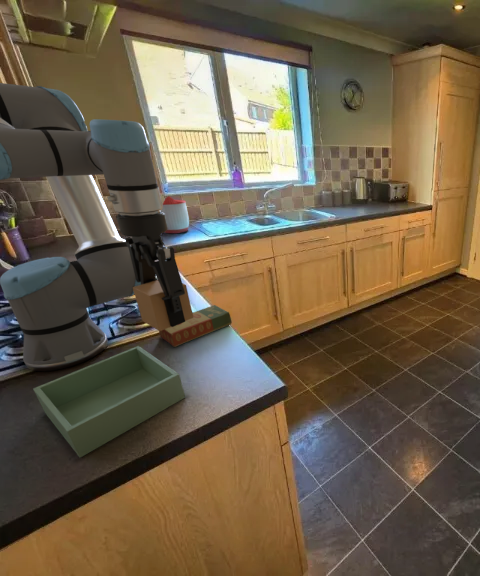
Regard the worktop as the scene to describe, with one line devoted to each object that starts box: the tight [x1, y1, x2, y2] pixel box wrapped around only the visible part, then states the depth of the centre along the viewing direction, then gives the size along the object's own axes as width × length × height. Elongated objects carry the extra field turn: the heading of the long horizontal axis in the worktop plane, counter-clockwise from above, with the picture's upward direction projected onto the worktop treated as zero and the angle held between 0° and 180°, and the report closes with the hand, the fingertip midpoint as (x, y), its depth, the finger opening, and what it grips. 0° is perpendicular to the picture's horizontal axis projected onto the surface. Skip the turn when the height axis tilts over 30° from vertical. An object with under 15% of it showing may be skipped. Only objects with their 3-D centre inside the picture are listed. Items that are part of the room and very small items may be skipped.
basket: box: [32, 345, 186, 458], centre depth 65 cm, size 18×18×6 cm
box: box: [133, 280, 193, 331], centre depth 69 cm, size 7×7×8 cm
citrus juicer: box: [160, 196, 190, 235], centre depth 186 cm, size 16×17×20 cm
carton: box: [158, 304, 232, 348], centre depth 92 cm, size 8×16×4 cm, turn 144°
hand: (168, 318), depth 71 cm, fingers closed on box, 7 cm apart
